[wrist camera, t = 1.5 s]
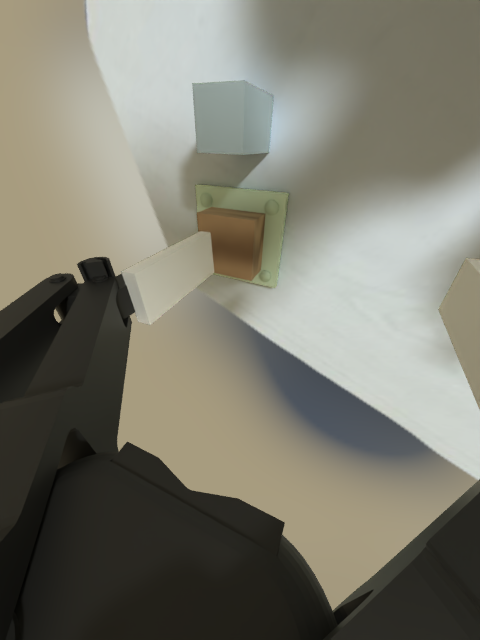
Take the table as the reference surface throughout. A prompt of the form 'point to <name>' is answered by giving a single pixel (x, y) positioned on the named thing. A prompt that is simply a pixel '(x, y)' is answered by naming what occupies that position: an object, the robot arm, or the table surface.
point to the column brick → (232, 118)
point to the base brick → (234, 240)
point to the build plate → (260, 203)
